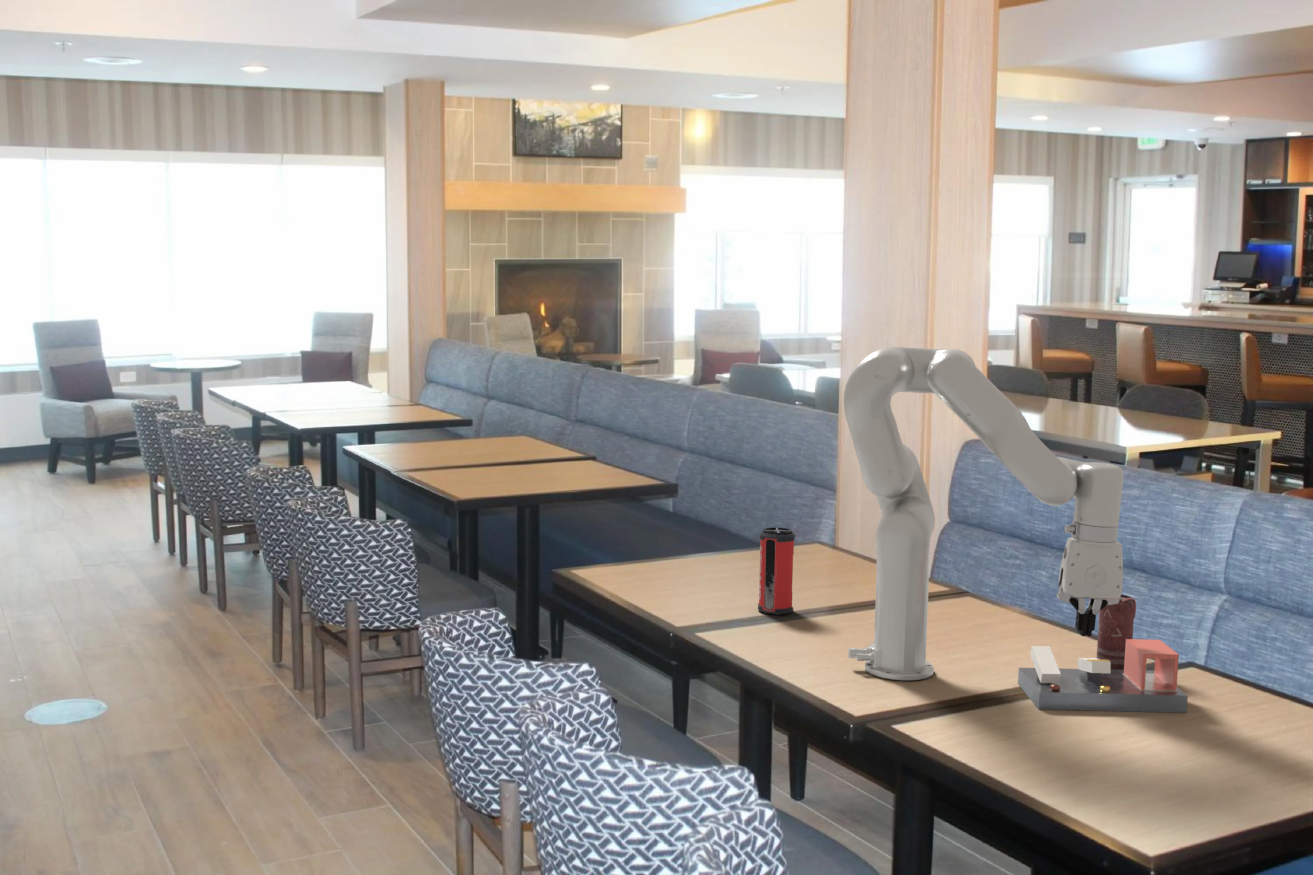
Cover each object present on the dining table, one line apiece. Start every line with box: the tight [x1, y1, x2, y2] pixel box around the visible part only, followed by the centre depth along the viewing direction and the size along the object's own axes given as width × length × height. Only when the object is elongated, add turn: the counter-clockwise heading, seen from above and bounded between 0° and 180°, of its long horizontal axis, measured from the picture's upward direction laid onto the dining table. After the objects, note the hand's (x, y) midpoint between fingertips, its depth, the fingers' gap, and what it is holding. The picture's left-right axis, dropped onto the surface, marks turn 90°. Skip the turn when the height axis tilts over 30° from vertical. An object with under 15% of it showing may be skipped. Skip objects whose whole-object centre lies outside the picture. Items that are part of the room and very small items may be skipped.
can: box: [1096, 594, 1137, 670], centre depth 244 cm, size 6×6×14 cm
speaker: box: [757, 527, 796, 616], centre depth 282 cm, size 8×8×18 cm
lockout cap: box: [1124, 638, 1180, 690], centre depth 227 cm, size 6×9×6 cm, turn 179°
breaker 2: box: [1077, 657, 1111, 673], centre depth 228 cm, size 3×8×2 cm, turn 179°
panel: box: [1017, 667, 1189, 714], centre depth 228 cm, size 25×14×4 cm, turn 89°
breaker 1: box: [1029, 645, 1061, 683], centre depth 228 cm, size 3×8×2 cm, turn 179°
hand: (1084, 633), depth 231 cm, fingers closed
